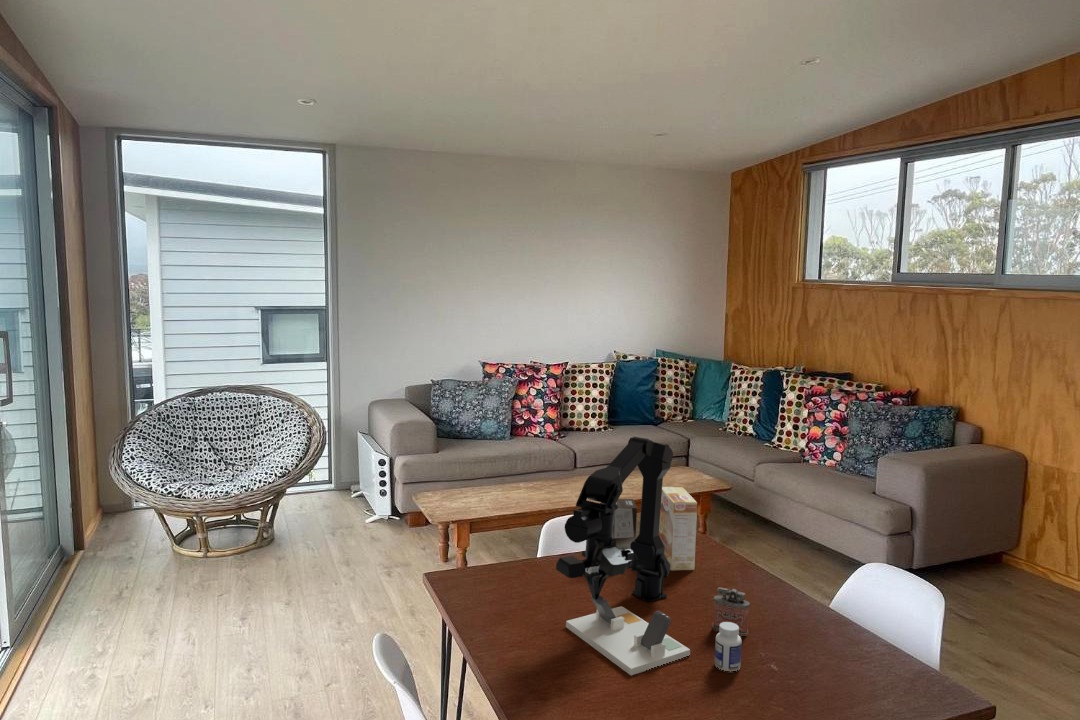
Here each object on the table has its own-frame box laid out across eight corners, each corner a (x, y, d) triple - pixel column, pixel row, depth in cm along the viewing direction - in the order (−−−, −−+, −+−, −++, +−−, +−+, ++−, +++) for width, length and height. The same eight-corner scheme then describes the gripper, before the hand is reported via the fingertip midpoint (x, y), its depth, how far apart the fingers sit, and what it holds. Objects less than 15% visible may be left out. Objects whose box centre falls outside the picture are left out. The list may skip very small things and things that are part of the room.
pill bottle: (741, 662, 160) (743, 622, 159) (739, 675, 155) (741, 633, 154) (715, 658, 161) (717, 618, 160) (712, 670, 157) (715, 629, 155)
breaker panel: (621, 612, 182) (622, 576, 181) (689, 656, 162) (691, 616, 161) (566, 627, 174) (567, 589, 173) (630, 675, 154) (632, 633, 153)
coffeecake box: (656, 550, 223) (659, 486, 221) (680, 550, 224) (683, 486, 221) (669, 570, 208) (672, 502, 206) (695, 570, 209) (698, 502, 207)
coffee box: (635, 563, 213) (637, 508, 211) (612, 563, 213) (614, 507, 211) (632, 551, 222) (634, 498, 220) (610, 551, 222) (612, 497, 220)
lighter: (749, 632, 173) (751, 590, 172) (746, 638, 170) (749, 596, 169) (714, 624, 177) (716, 583, 176) (710, 630, 174) (713, 589, 173)
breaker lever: (608, 615, 175) (594, 590, 172) (619, 622, 171) (605, 597, 168) (602, 620, 174) (588, 595, 171) (614, 628, 171) (600, 603, 168)
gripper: (585, 548, 157) (580, 621, 158) (655, 538, 166) (650, 606, 168) (557, 532, 166) (552, 600, 168) (624, 523, 176) (619, 587, 177)
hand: (595, 599), depth 170 cm, fingers closed, pressing on breaker lever
